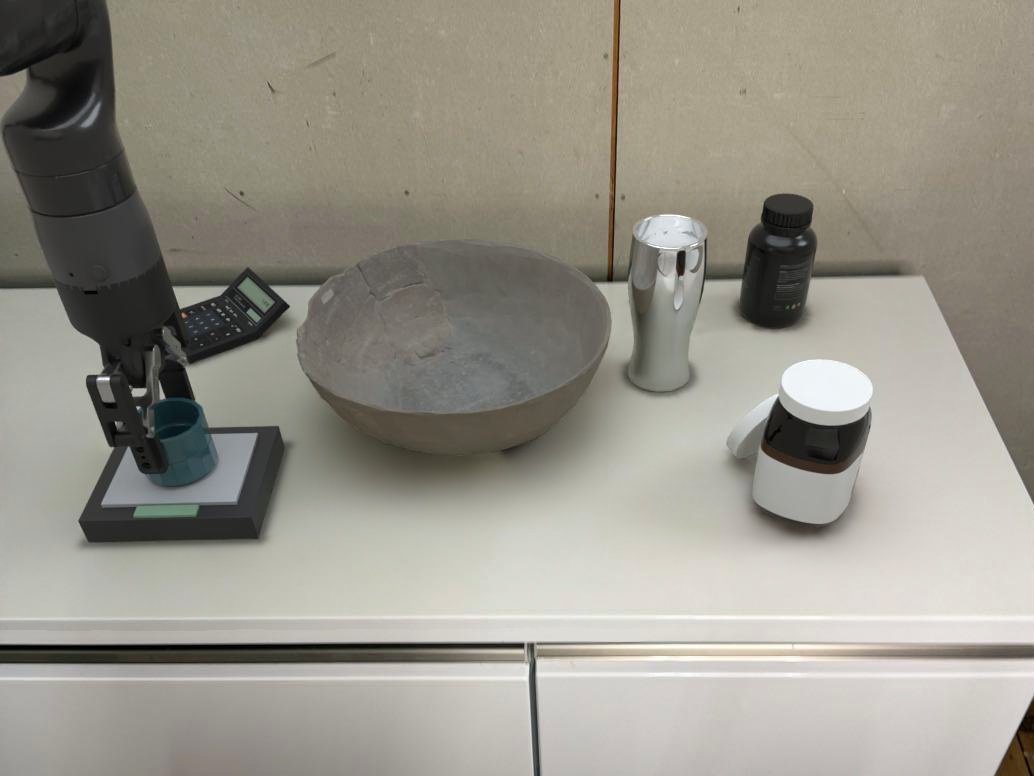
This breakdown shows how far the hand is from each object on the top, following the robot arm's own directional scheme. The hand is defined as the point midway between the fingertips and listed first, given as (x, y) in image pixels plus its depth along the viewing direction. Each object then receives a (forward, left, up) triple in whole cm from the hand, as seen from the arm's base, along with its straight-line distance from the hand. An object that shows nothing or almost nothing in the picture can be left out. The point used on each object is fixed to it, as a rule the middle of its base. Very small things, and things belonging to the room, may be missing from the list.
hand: (169, 437), depth 79 cm
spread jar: (+51, -1, -6) cm, 52 cm away
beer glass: (+42, +16, -6) cm, 46 cm away
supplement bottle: (+55, +27, -6) cm, 62 cm away
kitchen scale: (0, 0, -6) cm, 6 cm away
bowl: (+23, +12, -6) cm, 27 cm away
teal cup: (0, 0, -3) cm, 3 cm away
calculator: (-3, +27, -6) cm, 28 cm away
